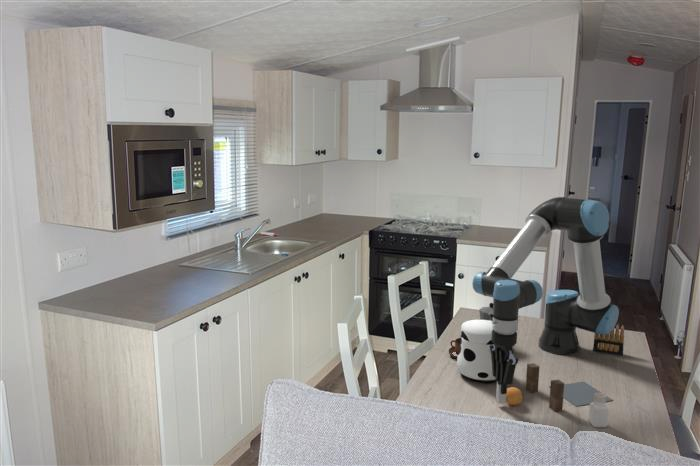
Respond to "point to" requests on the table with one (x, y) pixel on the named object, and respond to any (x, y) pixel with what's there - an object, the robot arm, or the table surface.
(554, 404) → the post
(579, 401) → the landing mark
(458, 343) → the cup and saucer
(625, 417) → the table surface
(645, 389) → the table surface
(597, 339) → the ammunition clip
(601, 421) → the pepper shaker
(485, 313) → the coffeepot
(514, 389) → the ball
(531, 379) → the post
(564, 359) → the table surface
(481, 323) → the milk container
